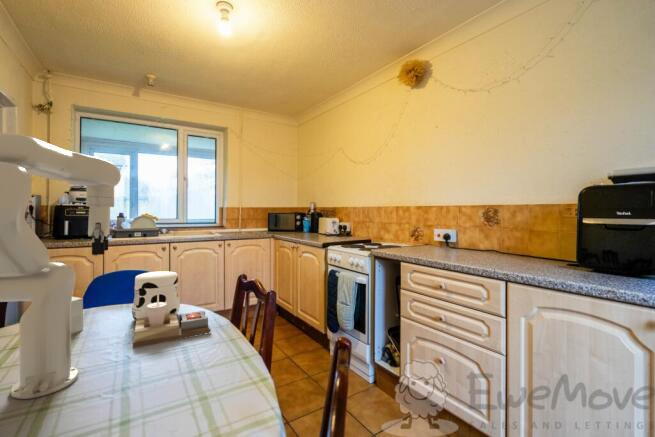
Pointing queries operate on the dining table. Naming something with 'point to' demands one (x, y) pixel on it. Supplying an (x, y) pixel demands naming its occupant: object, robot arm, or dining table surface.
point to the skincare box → (76, 314)
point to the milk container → (155, 292)
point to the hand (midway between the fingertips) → (100, 252)
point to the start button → (193, 316)
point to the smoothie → (156, 312)
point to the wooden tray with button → (169, 329)
